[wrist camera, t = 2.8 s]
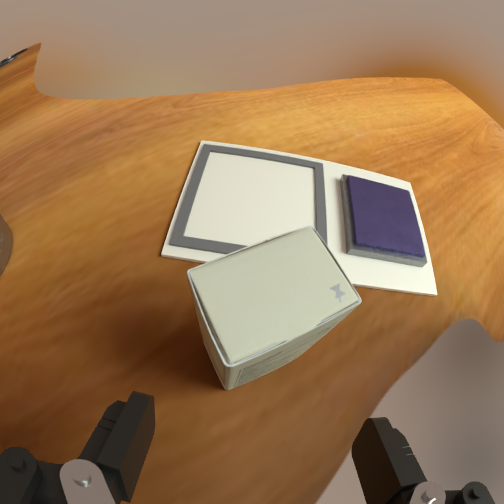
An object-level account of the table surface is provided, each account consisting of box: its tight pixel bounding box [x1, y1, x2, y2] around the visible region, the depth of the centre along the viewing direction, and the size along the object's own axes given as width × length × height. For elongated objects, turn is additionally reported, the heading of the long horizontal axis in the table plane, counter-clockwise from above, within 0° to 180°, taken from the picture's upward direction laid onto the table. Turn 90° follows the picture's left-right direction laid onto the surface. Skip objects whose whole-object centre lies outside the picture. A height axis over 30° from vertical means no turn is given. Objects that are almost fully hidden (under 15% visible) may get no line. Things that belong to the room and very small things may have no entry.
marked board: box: [161, 141, 437, 296], centre depth 30 cm, size 27×16×1 cm, turn 83°
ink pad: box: [340, 174, 427, 267], centre depth 29 cm, size 9×10×2 cm
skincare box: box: [187, 225, 361, 390], centre depth 17 cm, size 6×4×12 cm
